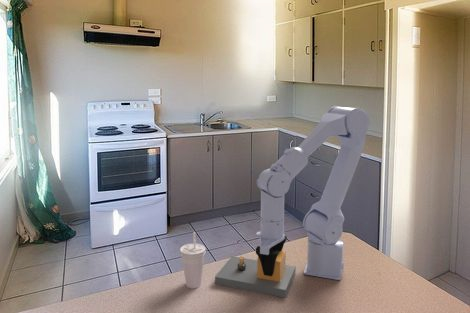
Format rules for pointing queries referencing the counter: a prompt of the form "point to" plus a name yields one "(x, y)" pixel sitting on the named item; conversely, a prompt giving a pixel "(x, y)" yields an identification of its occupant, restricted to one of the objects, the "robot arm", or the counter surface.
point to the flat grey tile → (253, 277)
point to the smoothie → (193, 262)
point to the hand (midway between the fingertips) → (271, 269)
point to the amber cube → (278, 268)
